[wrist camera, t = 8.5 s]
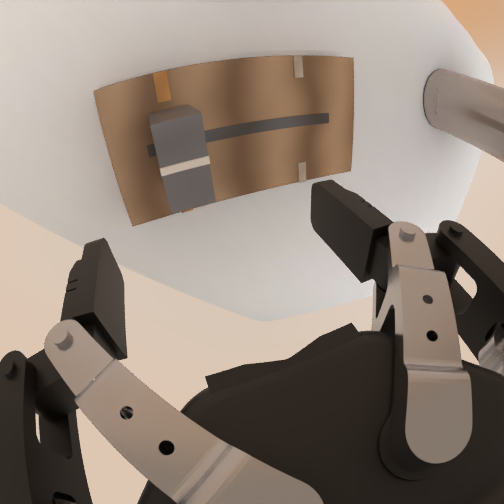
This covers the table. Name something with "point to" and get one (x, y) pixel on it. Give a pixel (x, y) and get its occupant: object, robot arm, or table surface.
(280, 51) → the table surface
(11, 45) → the table surface
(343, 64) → the fader base
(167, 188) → the fader cap
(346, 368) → the robot arm
